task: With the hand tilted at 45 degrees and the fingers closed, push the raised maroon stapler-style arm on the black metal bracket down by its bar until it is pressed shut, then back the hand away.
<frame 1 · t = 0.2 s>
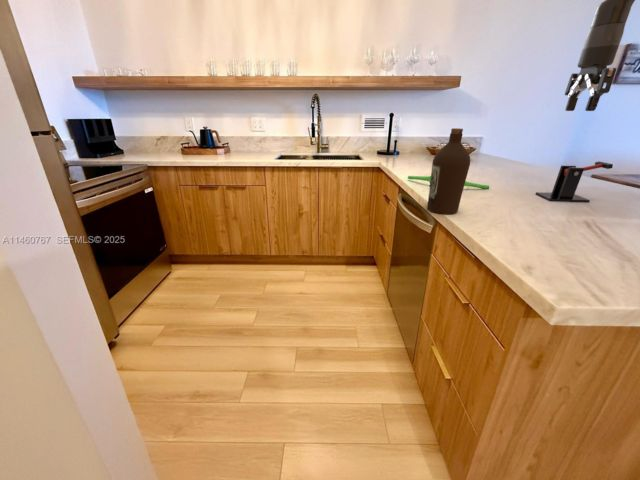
hand: (579, 110, 86), 30 cm above the counter, tool pointing down, fingers open, 8 cm apart
olive oil: (441, 210, 94), on the counter
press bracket: (560, 199, 105), on the counter
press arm: (585, 168, 100), point 11 cm above the counter, hinge at 15.0°
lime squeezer: (443, 187, 122), on the counter
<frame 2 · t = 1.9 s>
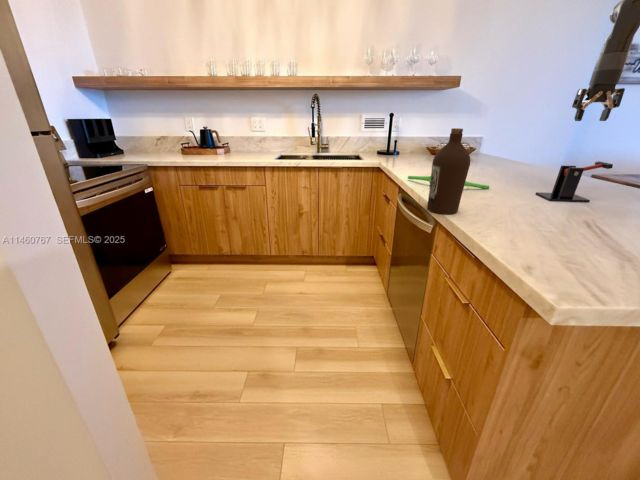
hand: (590, 121, 104), 26 cm above the counter, tool pointing down, fingers open, 8 cm apart
nothing on the counter moved.
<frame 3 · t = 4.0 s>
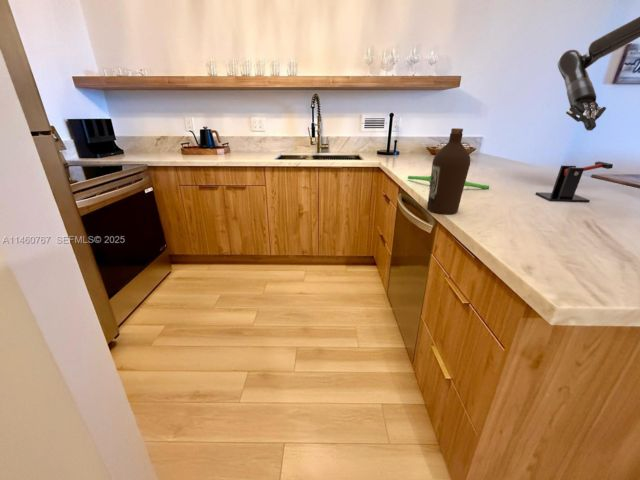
hand: (591, 128, 106), 24 cm above the counter, tool tilted 45°, fingers closed
nothing on the counter moved.
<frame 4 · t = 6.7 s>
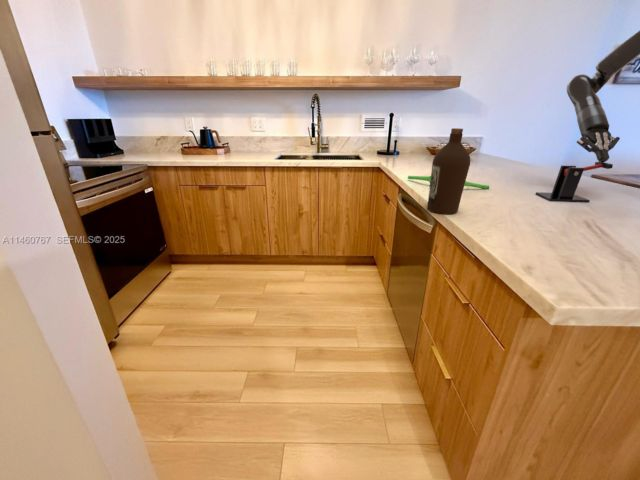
hand: (604, 160, 99), 14 cm above the counter, tool tilted 45°, fingers closed
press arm: (585, 168, 100), point 11 cm above the counter, hinge at 14.9°, touching gripper
everything else where it was.
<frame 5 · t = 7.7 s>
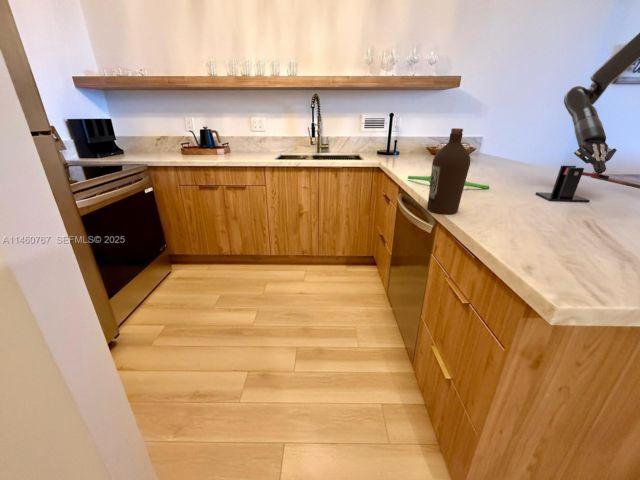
hand: (601, 172, 100), 10 cm above the counter, tool tilted 45°, fingers closed
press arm: (584, 173, 101), point 9 cm above the counter, hinge at -7.0°, touching gripper
everything else where it was.
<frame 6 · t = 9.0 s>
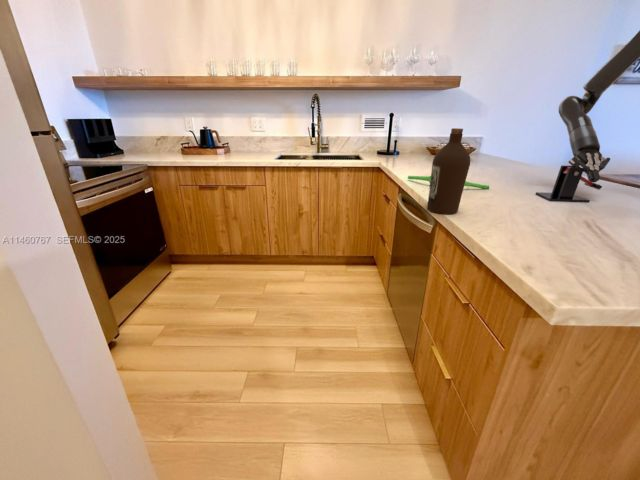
hand: (595, 181, 102), 7 cm above the counter, tool tilted 45°, fingers closed
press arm: (581, 178, 102), point 8 cm above the counter, hinge at -26.9°, touching gripper
everything else where it was.
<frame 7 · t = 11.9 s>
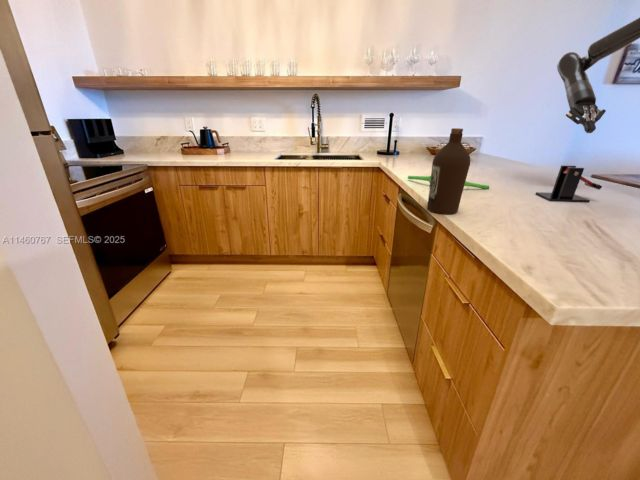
hand: (591, 131, 106), 23 cm above the counter, tool tilted 45°, fingers closed
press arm: (581, 178, 102), point 8 cm above the counter, hinge at -26.9°
everything else where it was.
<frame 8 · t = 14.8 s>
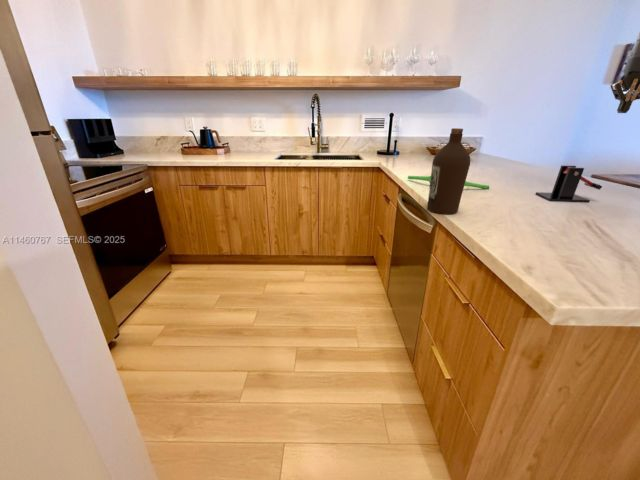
hand: (621, 113, 102), 29 cm above the counter, tool pointing down, fingers closed
nothing on the counter moved.
at the end: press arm reached -27° during the clip, -27° at the end; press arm at -27° (first picture: +15°) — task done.
